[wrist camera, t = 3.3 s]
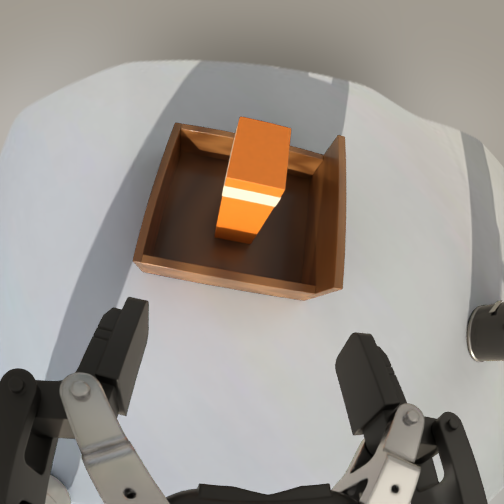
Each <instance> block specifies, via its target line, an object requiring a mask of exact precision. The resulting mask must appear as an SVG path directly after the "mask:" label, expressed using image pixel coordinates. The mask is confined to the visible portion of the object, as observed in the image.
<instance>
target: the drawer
mask: <svg viewBox="0 0 504 504" xmlns="http://www.w3.org/2000/svg"><path fill="white" fill-rule="evenodd" d="M234 137H235V133H232V132H227V131H222V130H217V129H211V128H205V127H199V126H193V125H187V124H181V123H175V124H174V127H173V130H172V132H171V135H170V138H169V140H168V143H167V146H166V149H165V152H164V154H163V157H162V160H161V163H160V166H159V169H158V172H157V175H156V178H155V181H154V185H153V188H152V191H151V194H150V198H149V201H148V204H147V208H146V211H145V215H144V218H143V222H142V226H141V229H140V233H139V237H138V241H137V245H136V249H135V253H134V257H133V262H134V263H135V264H136V265H137V266H138V267H139V268H140V269H141V271H142V272H146V273H151V274H156V275H161V276H166V277H171V278H176V279H181V280H186V281H191V282H197V283H202V284H207V285H213V286H218V287H224V288H230V289H235V290H241V291H247V292H253V293H259V294H265V295H271V296H278V297H284V298H290V299H297V300H304V301H305V300H308V299H311V298H315V297H318V296H322V295H325V294H328V293H331V292H335V291H338V290H341V289H343V275H344V258H345V235H346V150H345V137H344V136H341V135H338V136H337V137H336V139H335V140H334V141H333V143H332V144H331V146H330V147H329V148H328V150H327V151H326V153H325V154H324V155H322V154H319V153H315V152H312V151H308V150H304V149H301V148H297V147H293V146H290V147H289V158H288V168H287V177H286V187H285V191H284V192H283V194H282V196H281V199H280V200H279V202H278V204H277V205H276V207H274V208H273V210H272V211H271V213H270V215H269V216H268V218H267V219H266V221H265V223H264V224H263V226H262V227H261V229H260V230H259V232H258V234H257V235H256V237H255V238H254V240H253V242H252V243H251V244H246V243H241V242H236V241H231V240H225V239H220V238H215V237H214V236H215V230H216V225H217V220H218V215H219V210H220V205H221V200H222V192H223V187H224V182H225V177H226V173H227V168H228V163H229V159H230V155H231V150H232V146H233V141H234Z"/></svg>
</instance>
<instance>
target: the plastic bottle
mask: <svg viewBox="0 0 504 504" xmlns="http://www.w3.org/2000/svg"><path fill="white" fill-rule="evenodd" d="M45 504H71V499H70V496H69V493H68V491H67V489H66V487H65V486H64V485H63V484H62V483H61V482H60V481H59V480H58V479H57V478H55V477H54V476H52V475H50V478H49V483H48V489H47V495H46V501H45Z"/></svg>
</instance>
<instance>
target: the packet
mask: <svg viewBox="0 0 504 504" xmlns="http://www.w3.org/2000/svg"><path fill="white" fill-rule="evenodd" d="M290 137H291V128H288V127H284V126H280V125H276V124H272V123H268V122H264V121H259V120H255V119H250V118H245V117H240V118H239V123H238V126H237V128H236V133H235V137H234V141H233V146H232V150H231V155H230V159H229V163H228V168H227V173H226V177H225V182H224V187H223V192H222V200H221V205H220V210H219V215H218V220H217V225H216V230H215V236H214V237H215V238H220V239H225V240H231V241H236V242H241V243H246V244H251V243H252V242H253V240H254V238H255V237H256V235H257V234H258V232H259V230H260V229H261V227H262V226H263V224H264V223H265V221H266V219H267V218H268V216H269V215H270V213H271V211H272V210H273V208H274V207H276V205H277V204H278V202H279V200H280V199H281V196H282V194H283V192H284V191H285V187H286V177H287V168H288V158H289V147H290Z"/></svg>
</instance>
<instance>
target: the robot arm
mask: <svg viewBox="0 0 504 504" xmlns="http://www.w3.org/2000/svg"><path fill="white" fill-rule="evenodd" d="M148 330H149V303H148V301H146V300H141V299H136V298H132V297H128V298H127V300H126V302H125V304H124V307H123V309H117V308H112V309H111V310H109V311H108V312H107V313H106V314H104V315H103V317H102V319H101V321H100V323H99V325H98V328H97V329H96V331H95V333H94V336H93V337H92V339H91V341H90V343H89V345H88V348H87V350H86V352H85V354H84V356H83V358H82V361H81V363H80V365H79V367H78V369H77V371H76V372H75V373H73V374H70V375H69V376H67V377H66V378H65V379H64V380H62V381H41V380H35V379H34V377H33V375H32V374H31V373H30V372H28V371H26V370H24V369H19V368H18V369H12V370H10V371H8V372H7V373H6V374H5V375H4V376H3V377H2V379H1V381H0V504H45V501H46V495H47V489H48V483H49V478H50V473H51V468H52V463H53V459H54V454H55V450H56V446H57V442H58V438H70V439H76V441H77V444H78V446H79V448H80V451H81V454H82V460H83V463H84V465H85V467H86V470H87V472H88V474H89V476H90V478H91V480H92V482H93V484H94V486H95V487H96V489H97V491H98V493H99V495H100V497H101V498H102V500H103V502H104V504H410V503H411V504H488V503H487V499H486V495H485V491H484V488H483V484H482V481H481V477H480V474H479V471H478V467H477V464H476V461H475V458H474V455H473V452H472V449H471V446H470V443H469V441H468V438H467V435H466V433H465V430H464V427H463V425H462V422H461V420H460V419H459V417H458V416H457V415H455V414H454V413H451V412H445V413H443V414H442V415H441V416H440V417H439V418H438V419H435V418H430V417H424V415H423V413H422V412H421V410H420V409H419V408H417V407H416V406H415V405H412V404H408V403H407V402H406V399H405V397H404V394H403V392H402V389H401V387H400V385H399V382H398V380H397V377H396V375H394V370H393V368H392V367H391V364H390V361H389V359H388V357H387V355H386V354H385V353H384V352H383V350H382V349H381V348H380V347H379V346H377V345H376V343H375V340H374V338H373V336H372V335H371V334H366V333H352V334H351V336H350V337H349V339H348V341H347V342H346V344H345V345H344V347H343V349H342V350H341V352H340V353H339V355H338V357H337V359H336V364H335V369H336V373H337V377H338V381H339V384H340V388H341V391H342V395H343V399H344V403H345V406H346V410H347V414H348V418H349V422H350V426H351V429H352V433H353V435H362V434H364V439H363V440H362V441H361V443H360V445H359V447H358V449H357V451H356V453H355V455H354V457H353V459H352V461H351V463H350V465H349V467H348V469H347V471H346V472H345V474H344V476H343V477H342V478H341V479H340V480H339V481H338V482H337V483H336V485H335V486H334V487H333V488H332V490H330V484H320V485H309V486H299V487H296V488H293V489H289V490H286V491H282V492H279V493H275V494H270V495H267V494H261V493H257V492H253V491H249V490H245V489H241V488H237V487H232V486H218V485H208V484H199V486H198V488H197V489H191V490H186V491H181V492H178V493H175V494H172V495H170V496H168V497H165V496H164V495H163V493H162V492H161V490H160V489H159V487H158V486H157V484H156V483H155V481H154V480H153V478H152V477H151V475H150V474H149V472H148V471H147V469H146V467H145V466H144V464H143V462H142V461H141V459H140V458H139V456H138V454H137V452H136V451H135V449H134V447H133V446H132V444H131V443H130V441H128V439H127V438H126V436H125V434H124V432H123V430H122V428H121V426H120V424H119V422H118V420H117V416H118V414H120V415H124V416H126V415H127V411H128V407H129V403H130V400H131V396H132V392H133V389H134V385H135V381H136V378H137V374H138V371H139V367H140V364H141V361H142V357H143V354H144V351H145V347H146V344H147V339H148ZM467 345H468V350H469V353H470V355H471V357H472V358H473V359H474V360H475V361H477V362H483V361H504V302H502V300H501V301H497V302H496V304H491V305H482V306H479V307H477V308H476V309H475V310H474V311H473V313H472V315H471V317H470V320H469V323H468V329H467ZM438 453H439V456H440V459H441V462H442V466H443V469H444V478H443V480H442V481H441V482H440V483H439V481H438V478H437V474H436V470H435V466H434V463H433V459H432V457H433V456H435V455H436V454H438Z"/></svg>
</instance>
